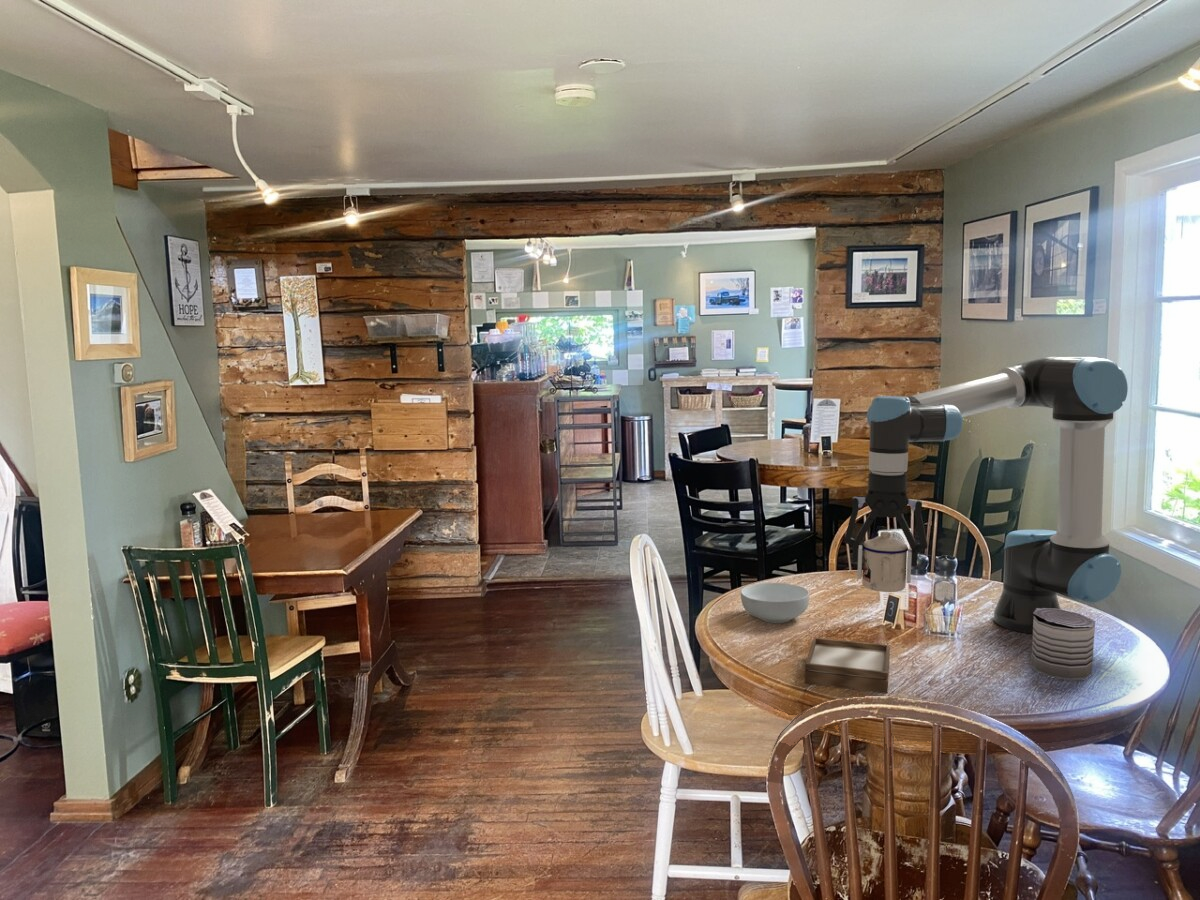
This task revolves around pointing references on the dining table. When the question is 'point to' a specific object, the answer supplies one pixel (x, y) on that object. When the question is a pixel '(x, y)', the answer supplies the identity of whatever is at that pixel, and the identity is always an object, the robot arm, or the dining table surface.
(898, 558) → the teacup with lid
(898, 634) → the dining table surface
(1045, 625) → the can
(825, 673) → the wooden box
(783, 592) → the cereal bowl
